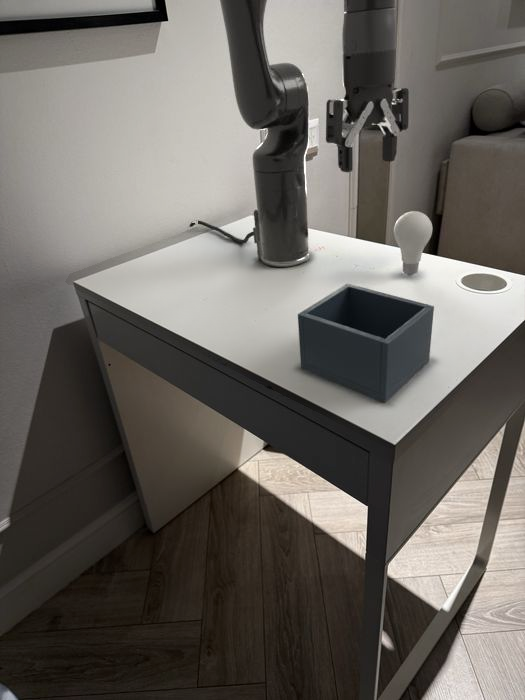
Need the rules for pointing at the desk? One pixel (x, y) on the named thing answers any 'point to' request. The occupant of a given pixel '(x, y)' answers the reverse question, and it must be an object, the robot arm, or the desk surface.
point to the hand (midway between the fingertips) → (367, 166)
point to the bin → (366, 339)
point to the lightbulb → (412, 238)
